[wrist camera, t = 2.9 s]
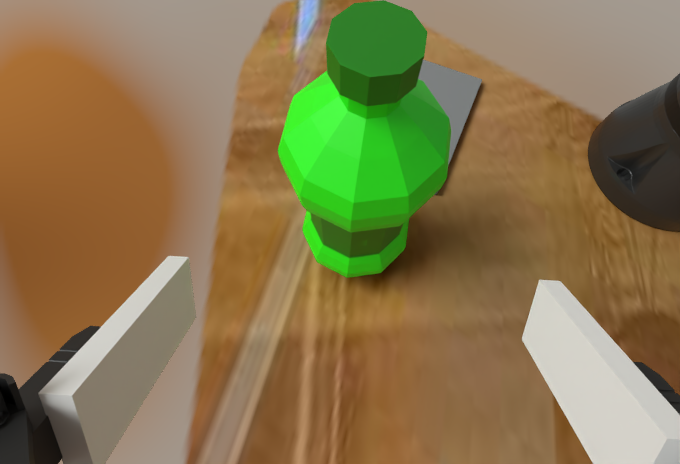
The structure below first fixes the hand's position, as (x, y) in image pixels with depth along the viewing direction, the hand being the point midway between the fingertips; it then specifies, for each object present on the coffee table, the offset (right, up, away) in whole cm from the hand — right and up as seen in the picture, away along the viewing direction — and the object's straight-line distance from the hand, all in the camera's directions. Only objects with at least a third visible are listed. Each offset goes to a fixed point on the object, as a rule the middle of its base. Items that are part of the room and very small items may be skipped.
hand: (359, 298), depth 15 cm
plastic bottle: (+1, +2, +25) cm, 25 cm away
